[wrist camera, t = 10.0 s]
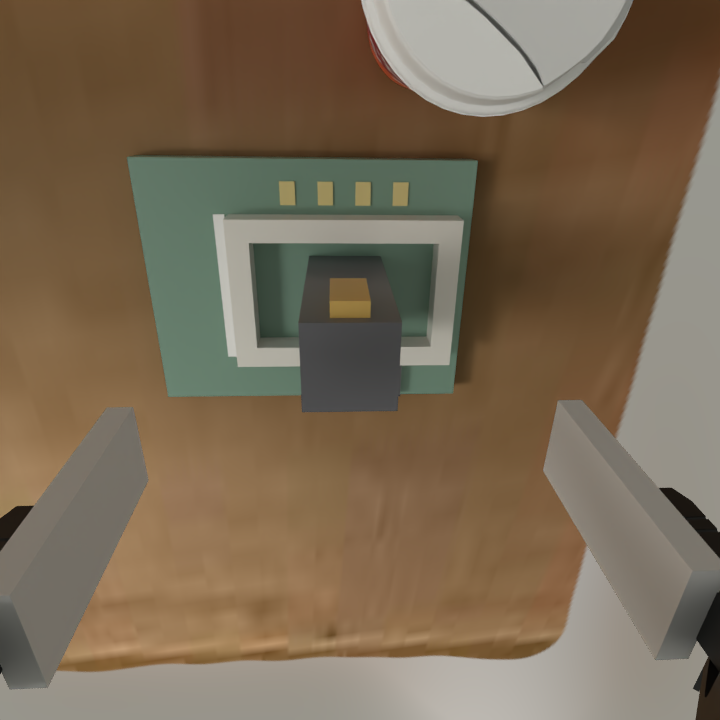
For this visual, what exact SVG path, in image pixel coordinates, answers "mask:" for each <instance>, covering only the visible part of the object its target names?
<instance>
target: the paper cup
mask: <svg viewBox="0 0 720 720" xmlns="http://www.w3.org/2000/svg"><path fill="white" fill-rule="evenodd" d="M361 1H362V7H363V10H364V13H365V16H366V19H367V31H368V38H369V43H370V47H371V50H372V53H373V55H374V57H375V60H376V61H377V63H378V65H379V66H380V68H381V69H382V70H383V72H384V73H385V74H386V75H387V76H388V77H389V78H390V79H391V80H393V81H394V82H395V83H397V84H399V85H400V86H402V87H405V88H407V89H409V90H412V91H414V92H416V93H417V94H418V95H420V96H421V97H422V98H424V99H425V100H427V101H429V102H431V103H433V104H435V105H437V106H439V107H441V108H443V109H445V110H448V111H452V112H455V113H459V114H462V115H471V116H480V117H487V116H501V115H506V114H510V113H514V112H518V111H523V110H525V109H527V108H530V107H532V106H534V105H537V104H539V103H541V102H543V101H545V100H547V99H548V98H550V97H551V96H553V95H555V94H556V93H558V92H560V91H561V90H562V89H564V88H565V87H566V86H567V85H568V84H570V83H571V82H572V81H573V80H574V79H576V78H577V77H578V76H579V75H580V74H581V73H582V72H583V71H584V70H585V69H586V68H587V66H588V65H589V64H590V63H591V62H592V61H593V60H594V59H595V58H596V57H597V56H598V55H599V54H600V53H601V52H602V51H603V50H604V49H605V48H606V47H607V46H608V45H609V44H610V43H611V42H612V41H613V40H614V39H615V37H616V35H617V33H618V31H619V29H620V28H621V26H622V24H623V22H624V20H625V19H626V17H627V14H628V12H629V9H630V7H631V4H632V2H633V0H361Z"/></svg>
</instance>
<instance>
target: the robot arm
mask: <svg viewBox="0 0 720 720" xmlns="http://www.w3.org/2000/svg"><path fill="white" fill-rule="evenodd" d="M543 471H544V473H545V475H546V476H547V478H548V480H549V482H550V483H551V485H552V487H553V488H554V490H555V492H556V493H557V495H558V497H559V498H560V500H561V502H562V503H563V505H564V507H565V509H566V510H567V512H568V514H569V515H570V517H571V519H572V520H573V522H574V524H575V525H576V527H577V529H578V530H579V532H580V534H581V536H582V537H583V539H584V541H585V542H586V544H587V546H588V547H589V549H590V551H591V552H592V554H593V556H594V558H595V559H596V561H597V563H598V564H599V566H600V568H601V569H602V571H603V573H604V574H605V576H606V578H607V579H608V581H609V583H610V585H611V586H612V588H613V590H614V591H615V593H616V595H617V596H618V598H619V600H620V601H621V603H622V605H623V607H624V608H625V610H626V611H627V613H628V615H629V617H630V618H631V620H632V622H633V623H634V625H635V627H636V628H637V630H638V632H639V634H640V635H641V637H642V639H643V640H644V642H645V644H646V645H647V647H648V649H649V650H650V652H651V654H652V655H653V657H654V659H655V660H669V659H688V658H689V656H690V654H691V652H692V650H693V648H694V646H695V643H696V641H698V642H699V644H700V645H701V647H702V648H703V649H704V651H705V652H706V654H707V655H708V659H707V661H706V663H705V665H704V667H703V669H702V671H701V673H700V675H699V677H698V679H697V681H696V683H695V685H694V688H693V689H695V690H697V691H700V694H699V701H698V708H697V714H696V720H720V532H718V531H717V528H716V527H715V526H714V525H713V524H712V523H711V522H710V521H709V519H706V518H705V515H704V514H703V513H702V512H701V511H700V510H699V509H698V508H697V506H696V505H695V504H694V503H693V502H692V501H691V500H689V499H688V498H686V497H685V496H683V495H682V494H680V493H679V492H677V491H676V490H674V489H673V488H658V487H657V486H656V485H655V484H654V483H653V481H652V480H651V479H650V478H649V477H648V476H647V474H646V473H645V472H644V471H643V470H642V469H641V467H640V466H639V465H638V464H637V463H636V462H635V461H634V460H633V458H632V457H631V456H630V455H629V454H628V453H627V452H626V450H625V449H624V448H623V447H622V446H621V445H620V443H619V442H618V441H617V440H616V439H615V438H614V436H613V435H612V434H611V433H610V432H609V431H608V429H607V428H606V427H605V426H604V425H603V424H602V423H601V421H600V420H599V419H598V418H597V417H596V416H595V415H594V413H593V412H592V411H591V410H590V409H589V408H588V406H587V405H586V404H585V403H584V402H583V401H582V400H558V403H557V408H556V413H555V417H554V422H553V427H552V431H551V436H550V441H549V445H548V450H547V455H546V459H545V464H544V469H543ZM147 482H148V475H147V471H146V466H145V461H144V456H143V452H142V447H141V442H140V437H139V433H138V428H137V423H136V419H135V414H134V409H133V407H118V408H106V410H105V411H104V412H103V414H102V415H101V416H100V418H99V419H98V420H97V422H96V423H95V424H94V426H93V427H92V429H91V430H90V431H89V433H88V434H87V435H86V437H85V438H84V439H83V441H82V442H81V443H80V445H79V446H78V447H77V449H76V450H75V451H74V453H73V454H72V455H71V457H70V458H69V460H68V461H67V462H66V464H65V465H64V466H63V468H62V469H61V470H60V472H59V473H58V474H57V476H56V477H55V478H54V480H53V481H52V482H51V484H50V485H49V487H48V488H47V489H46V491H45V492H44V493H43V495H42V496H41V497H40V499H39V500H38V501H37V503H36V504H35V505H34V506H16V507H15V508H14V509H12V510H11V511H10V512H8V513H7V514H6V515H4V516H3V517H2V518H0V674H1V672H2V674H3V676H4V678H5V681H6V683H7V685H8V687H9V689H30V688H48V686H49V684H50V682H51V680H52V678H53V676H54V674H55V672H56V670H57V668H58V666H59V664H60V662H61V659H62V657H63V655H64V653H65V651H66V649H67V647H68V645H69V643H70V641H71V639H72V637H73V635H74V633H75V631H76V629H77V626H78V624H79V622H80V620H81V618H82V616H83V614H84V612H85V610H86V608H87V606H88V604H89V602H90V600H91V598H92V596H93V594H94V591H95V589H96V587H97V585H98V583H99V581H100V579H101V577H102V575H103V573H104V571H105V569H106V567H107V565H108V563H109V561H110V558H111V556H112V554H113V552H114V550H115V548H116V546H117V544H118V542H119V540H120V538H121V536H122V534H123V532H124V530H125V528H126V526H127V523H128V521H129V519H130V517H131V515H132V513H133V511H134V509H135V507H136V505H137V503H138V501H139V499H140V497H141V495H142V493H143V490H144V488H145V486H146V484H147Z"/></svg>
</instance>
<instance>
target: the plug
mask: <svg viewBox="0 0 720 720" xmlns="http://www.w3.org/2000/svg"><path fill="white" fill-rule="evenodd" d="M298 328H299V352H300V376H301V400H302V412H350V411H397V409H398V390H399V372H400V353H401V335H402V320H401V317H400V314H399V311H398V308H397V305H396V302H395V299H394V296H393V293H392V290H391V287H390V284H389V280H388V277H387V274H386V271H385V268H384V265H383V262H382V259H381V256H309V260H308V266H307V272H306V278H305V284H304V291H303V297H302V303H301V309H300V315H299V322H298Z"/></svg>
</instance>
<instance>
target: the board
mask: <svg viewBox="0 0 720 720" xmlns="http://www.w3.org/2000/svg"><path fill="white" fill-rule="evenodd" d="M127 161H128V167H129V173H130V178H131V184H132V190H133V196H134V201H135V207H136V213H137V219H138V224H139V230H140V236H141V242H142V247H143V253H144V259H145V265H146V271H147V276H148V282H149V288H150V294H151V299H152V305H153V311H154V317H155V322H156V328H157V334H158V340H159V345H160V351H161V357H162V363H163V368H164V374H165V380H166V386H167V392H168V397H188V396H274V395H301V376H300V352H299V328H298V322H299V315H300V309H301V303H302V297H303V291H304V284H305V278H306V272H307V266H308V260H309V256H381V259H382V262H383V265H384V268H385V271H386V274H387V277H388V280H389V284H390V287H391V290H392V293H393V296H394V299H395V302H396V305H397V308H398V311H399V314H400V317H401V320H402V335H401V353H400V372H399V390H398V396H400V394H445V393H453V388H454V379H455V369H456V360H457V351H458V341H459V332H460V323H461V314H462V304H463V295H464V286H465V276H466V267H467V258H468V249H469V239H470V230H471V221H472V212H473V202H474V193H475V184H476V174H477V165H478V161H477V160H474V159H445V158H353V157H262V156H171V155H133V156H129V157H127Z"/></svg>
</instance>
